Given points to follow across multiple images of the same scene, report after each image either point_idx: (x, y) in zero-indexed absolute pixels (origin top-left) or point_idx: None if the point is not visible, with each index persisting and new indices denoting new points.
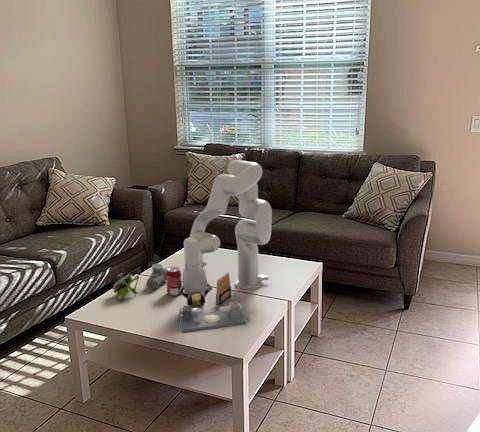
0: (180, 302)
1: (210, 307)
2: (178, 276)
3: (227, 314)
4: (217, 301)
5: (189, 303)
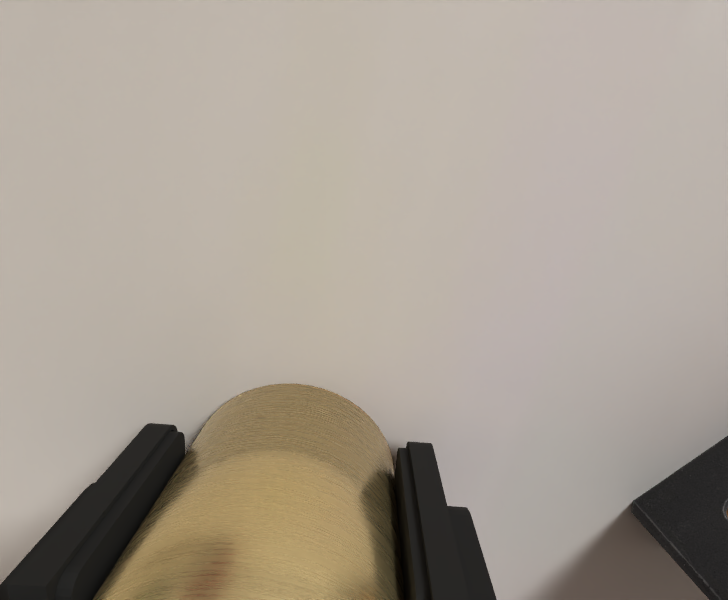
0: (3, 159)
1: (513, 540)
2: None
3: None
4: (705, 592)
5: None
